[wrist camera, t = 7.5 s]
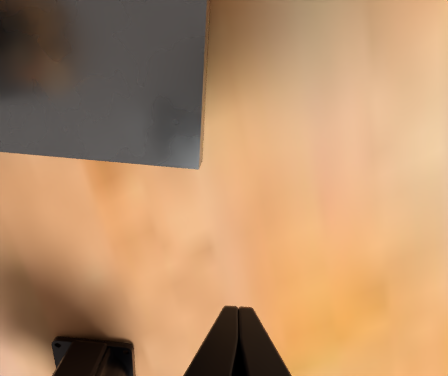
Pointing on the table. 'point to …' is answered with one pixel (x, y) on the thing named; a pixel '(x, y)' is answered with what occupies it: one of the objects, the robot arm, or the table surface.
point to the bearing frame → (104, 79)
